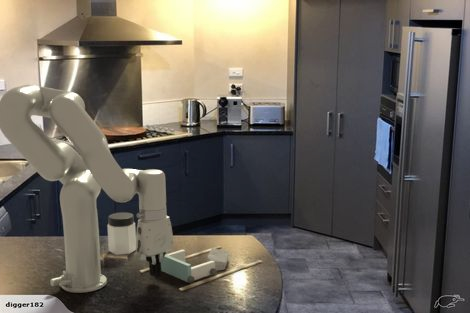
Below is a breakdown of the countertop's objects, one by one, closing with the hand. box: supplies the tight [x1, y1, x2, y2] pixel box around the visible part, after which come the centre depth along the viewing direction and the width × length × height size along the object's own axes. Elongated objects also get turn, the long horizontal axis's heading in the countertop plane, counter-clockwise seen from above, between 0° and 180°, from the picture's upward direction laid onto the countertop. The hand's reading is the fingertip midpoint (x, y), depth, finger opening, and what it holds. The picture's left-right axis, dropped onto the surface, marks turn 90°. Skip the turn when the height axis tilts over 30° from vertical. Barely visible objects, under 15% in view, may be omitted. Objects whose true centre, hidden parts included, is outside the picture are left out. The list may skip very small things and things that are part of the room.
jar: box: [107, 212, 137, 256], centre depth 205 cm, size 9×8×12 cm
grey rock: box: [206, 247, 230, 272], centre depth 192 cm, size 10×6×6 cm, turn 169°
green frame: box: [161, 249, 218, 284], centre depth 186 cm, size 11×17×5 cm, turn 43°
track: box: [139, 245, 263, 292], centre depth 191 cm, size 32×20×1 cm, turn 133°
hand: (155, 275), depth 179 cm, fingers closed
